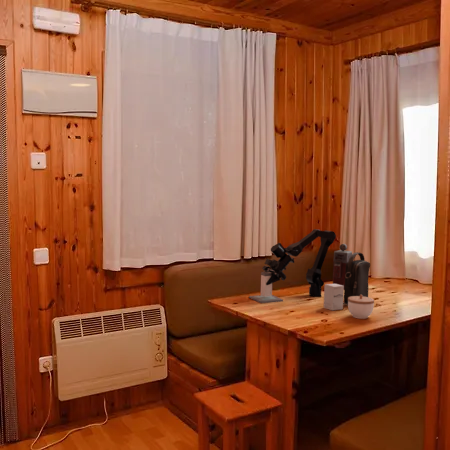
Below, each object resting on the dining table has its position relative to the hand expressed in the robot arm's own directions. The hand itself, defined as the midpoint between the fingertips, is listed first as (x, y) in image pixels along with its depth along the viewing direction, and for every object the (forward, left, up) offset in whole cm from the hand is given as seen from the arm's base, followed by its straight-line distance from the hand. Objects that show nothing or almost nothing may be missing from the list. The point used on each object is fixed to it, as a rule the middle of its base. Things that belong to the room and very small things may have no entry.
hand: (264, 283), depth 291 cm
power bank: (-1, -1, -7) cm, 7 cm away
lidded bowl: (-49, +27, -9) cm, 57 cm away
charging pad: (-1, -1, -9) cm, 9 cm away
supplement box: (-37, +12, -9) cm, 40 cm away
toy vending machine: (-46, -45, -9) cm, 65 cm away
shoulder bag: (-51, -6, -9) cm, 52 cm away
